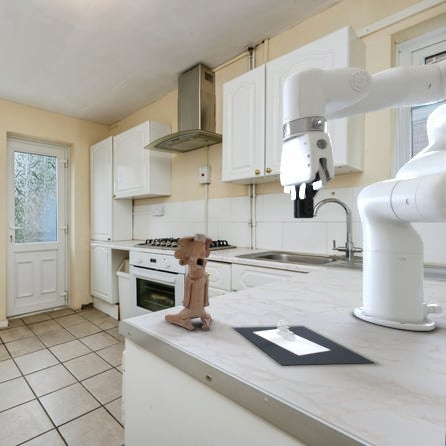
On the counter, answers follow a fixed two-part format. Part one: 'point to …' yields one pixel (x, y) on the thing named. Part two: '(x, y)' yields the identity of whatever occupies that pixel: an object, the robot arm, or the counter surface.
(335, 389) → the counter surface
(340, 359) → the centre mat
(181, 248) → the figurine
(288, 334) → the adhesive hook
